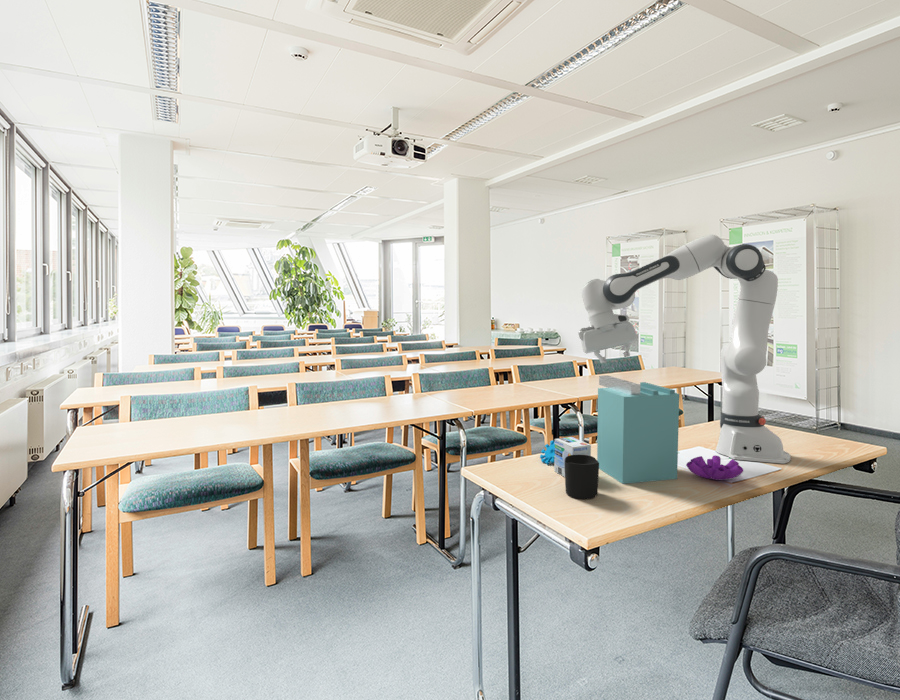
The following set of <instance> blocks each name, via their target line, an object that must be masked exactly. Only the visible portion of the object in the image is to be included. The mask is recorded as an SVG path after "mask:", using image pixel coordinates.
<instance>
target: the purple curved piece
mask: <svg viewBox="0 0 900 700" xmlns="http://www.w3.org/2000/svg"><path fill="white" fill-rule="evenodd" d="M721 459H722V458H721V456H719V455H712V457H711V458H707V460H706V461H705V459H704V457H703V456H700V455H699V456H697V457H694V458H692V459H690V461H687V463H686V467H687V469H688V470H689V471H690V472H691V473H692V474H693V475H696V476H698V477H702V478H705V479H706V480H707V479H708V480H714V481H723V480H730V479H731V480H732V479H734V478H737V477H738V476H741V474H743V472H744V468H743V467H742V466H741V465H740V464H739V463H740V462H738V461H737V460H736V459H732V458H731V459H730V460H729V461H728V462H727V463H726V464H721V462H722V461H721Z"/></svg>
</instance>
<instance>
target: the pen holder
mask: <svg viewBox="0 0 900 700" xmlns="http://www.w3.org/2000/svg"><path fill="white" fill-rule="evenodd" d="M564 463H565V477H564V483H565V493H566V495H567V496H569V497H570V498H573V499H578V500H591V499H592V500H593V499H595V498H596V497H597V496H598V490H599V476H600V475H599V473H600V471H599V470H600V469H599V462H598V461H597V458H595V457H594V456H589V455H569V456H567V457H566V458H565V461H564Z"/></svg>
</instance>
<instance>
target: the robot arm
mask: <svg viewBox="0 0 900 700" xmlns="http://www.w3.org/2000/svg"><path fill="white" fill-rule="evenodd" d="M763 259H764V257H763V254H762V253H761V251H760V249H759V248H757V247H756V246H754V245H752V244H747V243H742V244H738V245H733V246H730V247H729V246H727V245H726V244H725V242H724V241H723V239H722V238H721V237H720V236H718V235H716V234H708V235H705V236H702V237H699V238H696V239H693V240H691V241H689V242H687V243H685V244H683V245H681V246H679V247H677V248H676V249H674V250H672V251H670V252H669V253H667V254H666V255H664V256H662V257H660V258H659V259H657V260H654V261H653V262H650V263H648V264H645V265H643V266H641V267H639V268H637V269H635V270H633V271H630V272H623V273H615V274H612V275H610V276H609V277H608V278H607V279H605V280H604V279H600V278H594V279H590V281H589V280H588V282H586V283H585V284H584V285H583V287H582V288H581V298H582V302H583V305H584V308H585V310H586V311H587V314H588V319H589V320H588V321H589V324H590V326H589V325H588V326H586V327H582V328H580V329H579V331H578V336H579V337H578V338H579V339H580V342H581V347H582V350H583V352H584V353H585V355H586V354H592V353H594V356H595V357H596V358H597V359H599V363H600V364H603V363H606V362H607V359H606V357H605V356H602V354H600V353H601V351H604V350H608V349H613V348H616V347H621V346H623V348H625V349H624V352H622V353H623V356H624V358H627V357H631V353H630V349H631V344H633V343H635V342H637V341H638V334H637V331H636V329H635V327H634V325H633V324H632V323H631V322H629V321H630V316H629V315H628V314H627V315H626V314H617V313H614V310H620V309H625V308H628V307H629V306H631V305H632V304H633V303H634V301H635V298H636V292H638V291H639V290H640V289H642V288H645V287H646V286H649V285H650V284H653V283H655V282H657V281H660V280H663V279H672V280H675V281H681V280H684V279H689V278H691V277H693V276H695V275H697V274H699V273H701V272H703V271H705V270H707V269H710V268H714V269H715V270H716V271H717V272H718V273H719V274H720V275H721V276H722V277H724V278H727V279H730V280H731V279H732V280H734V279H735V280H738V281H739V285H740V286H739V287H740V291H739V294H738V298H737V302H736V306H735V310H734V313H733V318H732V323H731V324H732V328H731V329H732V331H731V337H730V338H731V339H730V341H729V342H727V343H725V344H724V345H723V347H722V348H721V350H720V354H719V357H720V372H721V373H720V375H721V386H722V400H721V402H722V403H721V404H722V406H721V411H720V413H719V427H720V430H719V431H720V432H719V438H718V441H717V443H716V444H717V445H716V447H715V452H717V453H718V454H720V455H723V456H726V457H729V458H730V459H731V460H732V459H733V460H736V461H737V460H739V461H751V462H761V463H770V464H771V463H773V464H788V463H790V461H791V454H790V453H789V452H788V451H786V450H784V446H783V441H782V440H781V438H780V436H778V435H777V434H776V433H774V432H773V431H772V430H770V429H769V428H768V427H767V426H765V424H766V423H767V421H766V418H765V416H764V415H761V414H760V413H759V405H760V404H759V402H760V401H759V398H760V391H759V386H758V382H757V375H758V374H760V373H761V372H762V371H763V370H764V369H765V368H766V366H767V352H768V351H767V350H768V349H767V348H768V340H769V338H768V337H769V336H768V335H769V330H770V324H771V321H772V316H773V312H774V308H775V304H776V300H777V295H778V294H777V293H778V287H779V285H778V283H779V282H778V281H779V280H778V276H777V274H776V273H775V272H773V271H771V270H768V269H766V265H765V261H764V260H763Z"/></svg>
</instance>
